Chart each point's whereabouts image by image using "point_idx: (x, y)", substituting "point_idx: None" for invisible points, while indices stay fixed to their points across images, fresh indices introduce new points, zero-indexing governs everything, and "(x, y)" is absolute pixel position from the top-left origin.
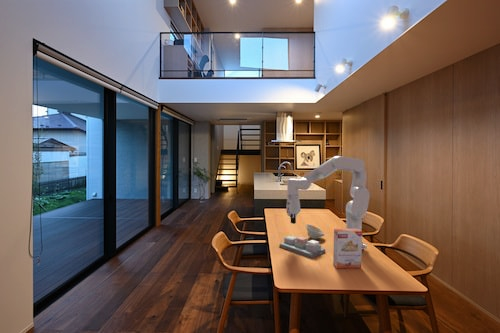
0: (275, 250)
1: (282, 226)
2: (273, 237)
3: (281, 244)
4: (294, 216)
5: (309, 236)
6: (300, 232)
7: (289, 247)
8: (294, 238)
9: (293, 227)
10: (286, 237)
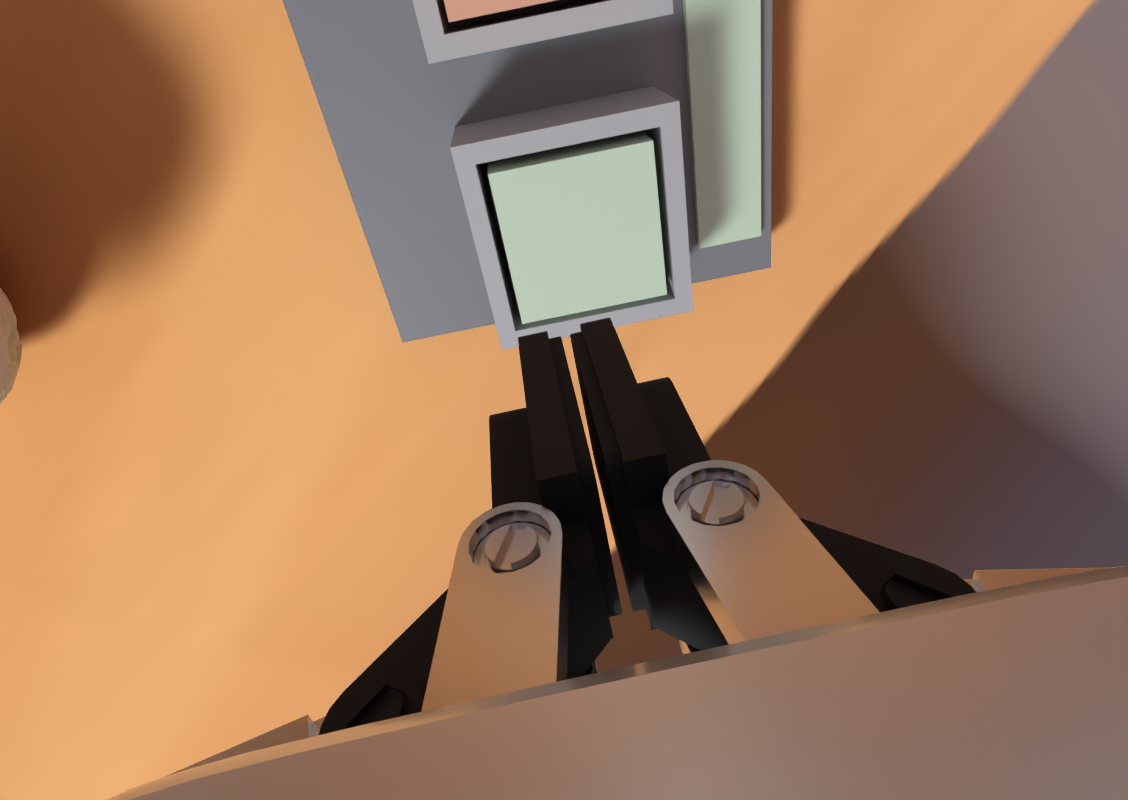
0: (923, 148)
1: None
2: None
3: (769, 225)
4: (583, 568)
5: (12, 312)
6: (60, 584)
7: (770, 15)
8: (556, 159)
9: (74, 743)
10: (661, 289)
